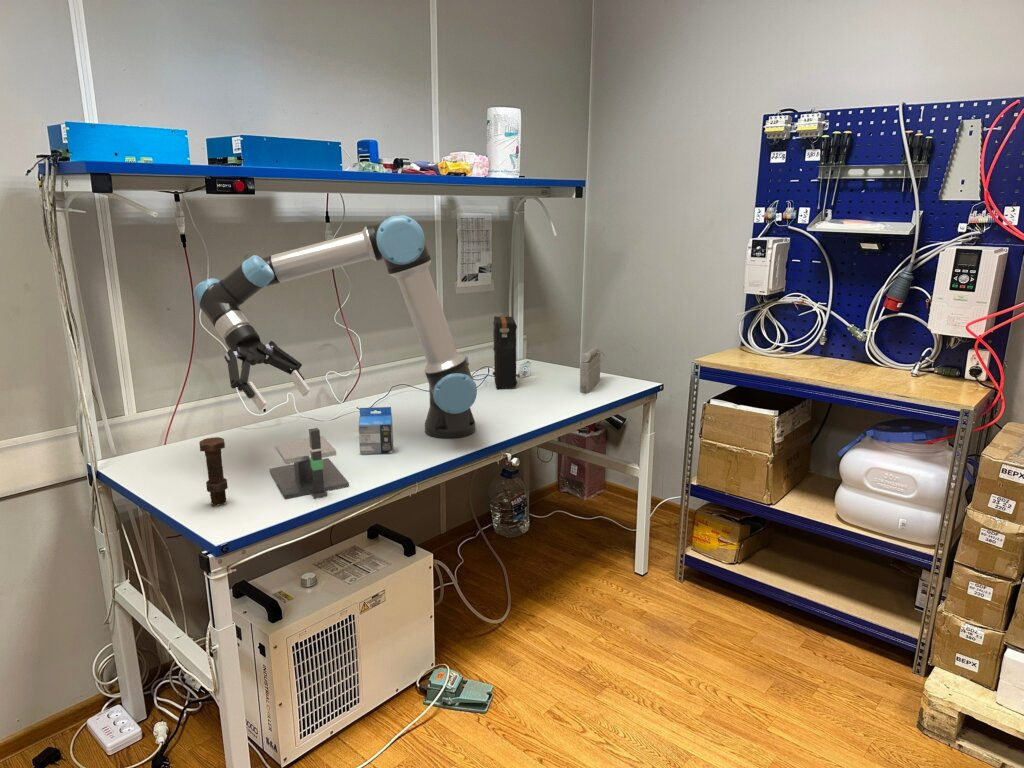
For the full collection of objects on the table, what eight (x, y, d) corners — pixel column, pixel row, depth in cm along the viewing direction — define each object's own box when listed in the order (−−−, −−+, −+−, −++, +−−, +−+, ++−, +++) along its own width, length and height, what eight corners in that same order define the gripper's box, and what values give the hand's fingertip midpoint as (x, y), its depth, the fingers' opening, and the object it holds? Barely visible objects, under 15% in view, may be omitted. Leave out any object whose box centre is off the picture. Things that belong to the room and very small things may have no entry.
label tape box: (359, 455, 187) (357, 411, 184) (361, 449, 191) (359, 407, 188) (392, 454, 188) (390, 410, 184) (393, 449, 192) (391, 406, 188)
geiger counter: (590, 343, 263) (573, 357, 240) (606, 344, 261) (591, 358, 238) (589, 379, 267) (573, 395, 244) (606, 380, 264) (590, 397, 242)
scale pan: (325, 461, 178) (323, 436, 177) (342, 482, 165) (340, 455, 163) (277, 469, 173) (275, 444, 171) (291, 492, 159) (288, 464, 158)
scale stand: (328, 461, 182) (324, 403, 178) (352, 490, 163) (348, 426, 159) (269, 472, 175) (263, 411, 171) (287, 504, 156) (281, 436, 152)
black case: (492, 379, 267) (491, 315, 260) (514, 379, 267) (514, 314, 261) (493, 390, 252) (493, 322, 245) (517, 389, 252) (517, 321, 246)
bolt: (206, 500, 158) (198, 438, 155) (230, 496, 160) (223, 435, 157) (207, 510, 153) (199, 446, 149) (231, 506, 155) (224, 443, 152)
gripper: (271, 334, 184) (316, 396, 180) (187, 351, 163) (236, 422, 160) (284, 316, 180) (330, 379, 176) (199, 331, 159) (249, 403, 156)
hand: (285, 399), depth 168 cm, fingers open, 13 cm apart
